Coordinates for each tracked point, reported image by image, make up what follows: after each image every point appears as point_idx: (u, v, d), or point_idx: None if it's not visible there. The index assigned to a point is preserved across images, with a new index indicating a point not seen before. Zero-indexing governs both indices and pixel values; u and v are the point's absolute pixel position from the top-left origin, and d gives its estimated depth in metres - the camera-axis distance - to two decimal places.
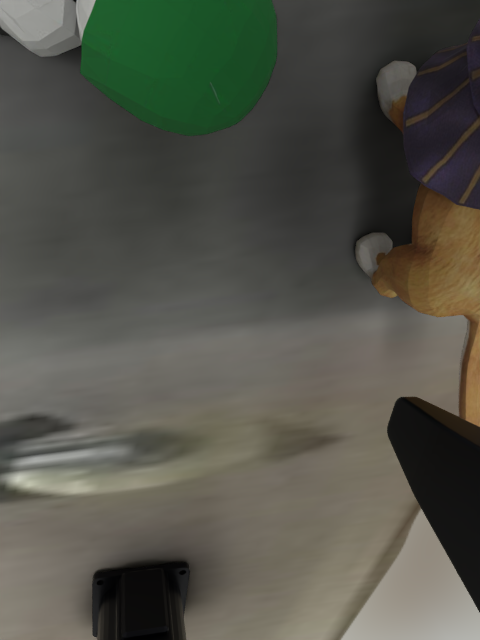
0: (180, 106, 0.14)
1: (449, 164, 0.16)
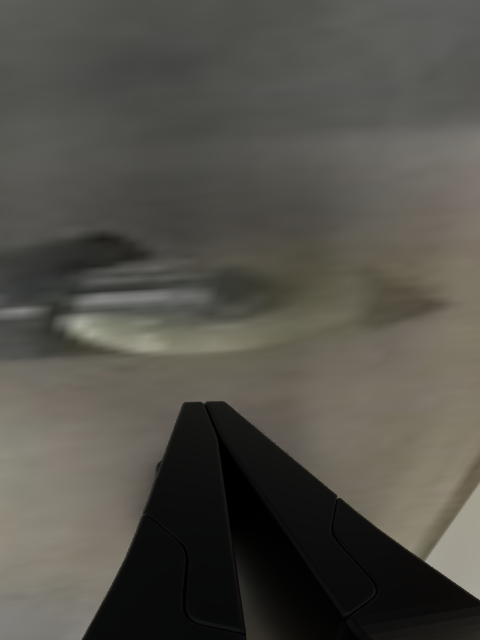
0: None
1: None
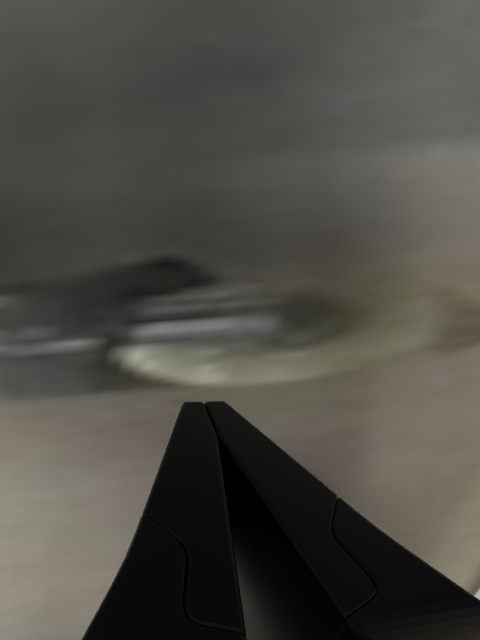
0: None
1: None
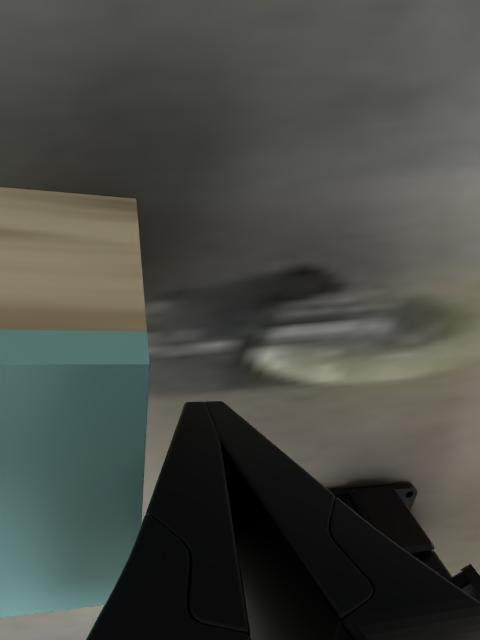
0: None
1: None
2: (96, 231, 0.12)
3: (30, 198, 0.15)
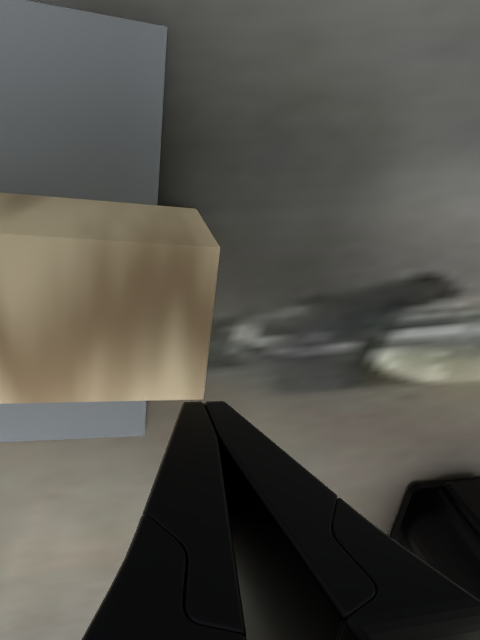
0: None
1: None
2: (26, 223, 0.12)
3: (157, 215, 0.15)
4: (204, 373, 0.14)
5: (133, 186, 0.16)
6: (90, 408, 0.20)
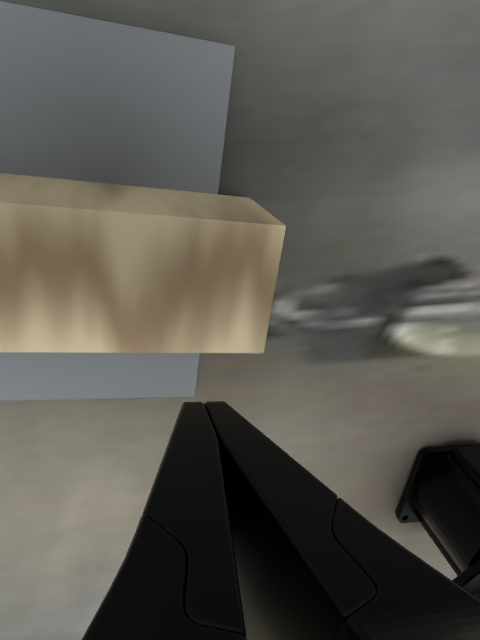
0: None
1: None
2: (132, 205, 0.15)
3: (223, 201, 0.18)
4: (266, 330, 0.17)
5: (199, 178, 0.19)
6: (150, 370, 0.23)
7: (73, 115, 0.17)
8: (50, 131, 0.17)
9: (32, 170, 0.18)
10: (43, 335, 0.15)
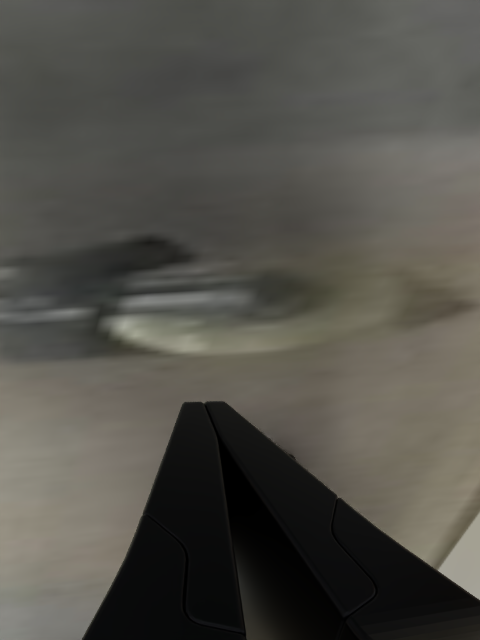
0: None
1: None
2: None
3: None
4: None
5: None
6: None
7: None
8: None
9: None
10: None
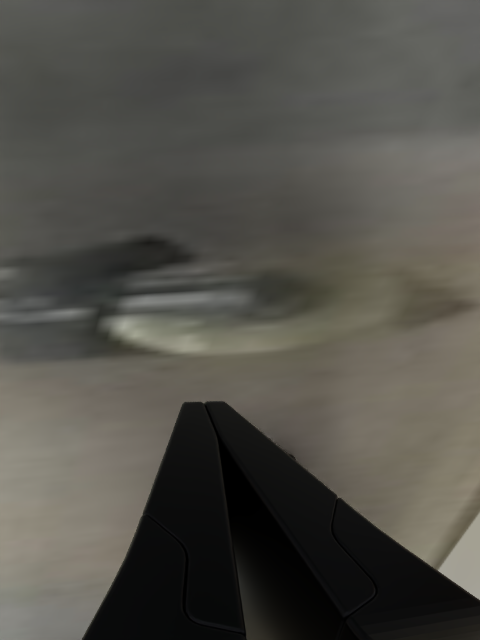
0: None
1: None
2: None
3: None
4: None
5: None
6: None
7: None
8: None
9: None
10: None
